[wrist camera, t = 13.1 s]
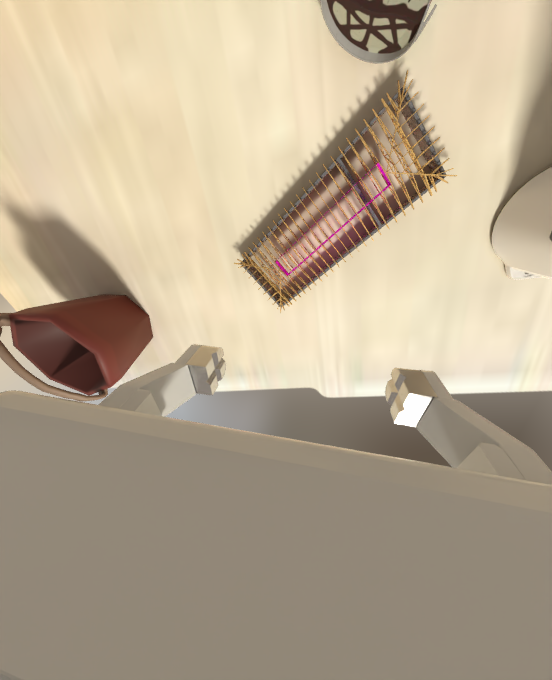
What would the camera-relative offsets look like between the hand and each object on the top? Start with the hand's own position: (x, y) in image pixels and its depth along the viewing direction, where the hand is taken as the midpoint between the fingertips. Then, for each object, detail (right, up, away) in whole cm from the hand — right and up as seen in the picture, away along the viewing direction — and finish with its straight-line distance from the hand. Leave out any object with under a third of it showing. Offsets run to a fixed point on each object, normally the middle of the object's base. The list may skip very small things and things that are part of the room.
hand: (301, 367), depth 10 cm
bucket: (-45, +8, +51) cm, 68 cm away
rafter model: (+8, +23, +29) cm, 38 cm away
